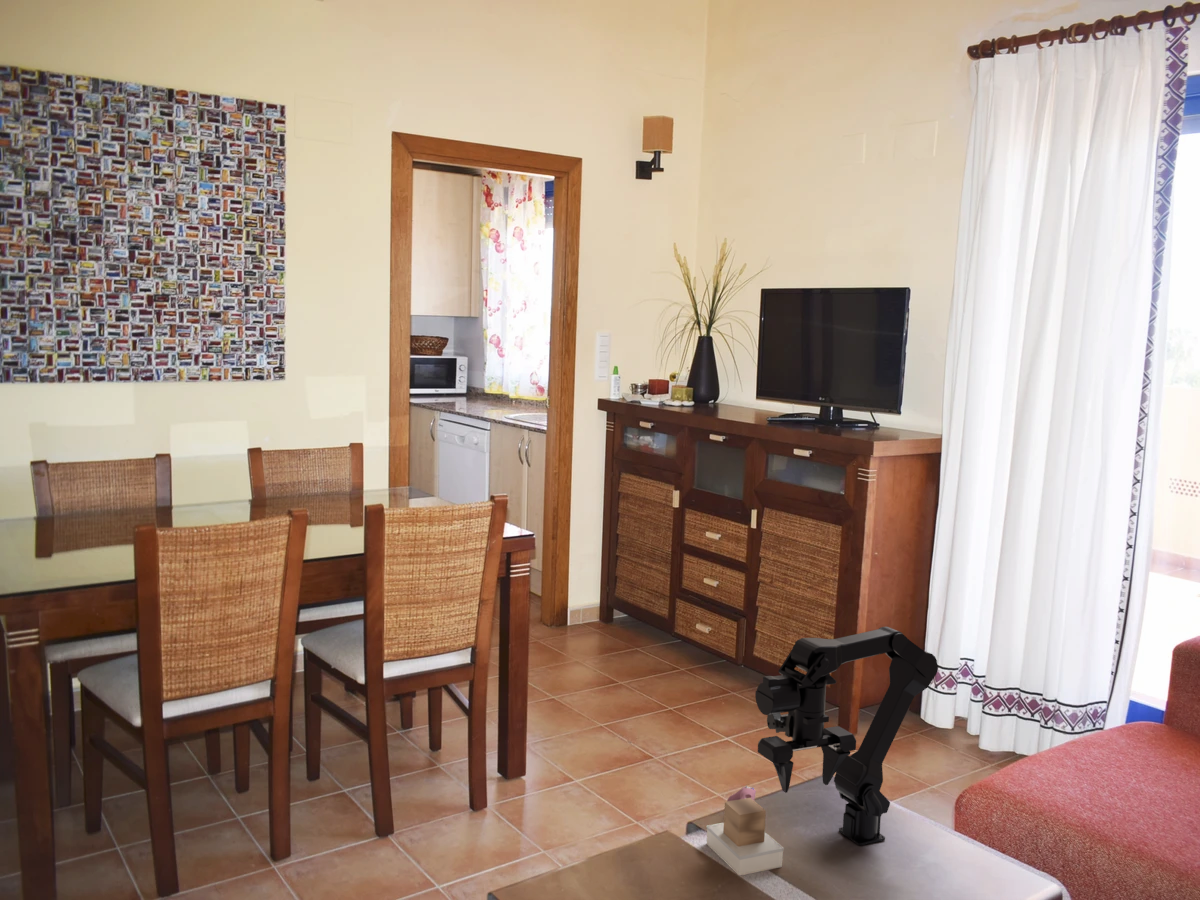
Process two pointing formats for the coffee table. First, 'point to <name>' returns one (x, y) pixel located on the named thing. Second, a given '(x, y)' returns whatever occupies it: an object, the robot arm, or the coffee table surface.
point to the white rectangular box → (745, 852)
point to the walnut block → (744, 821)
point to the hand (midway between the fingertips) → (805, 787)
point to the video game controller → (743, 794)
